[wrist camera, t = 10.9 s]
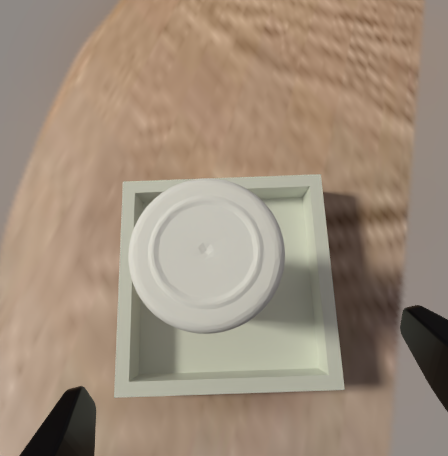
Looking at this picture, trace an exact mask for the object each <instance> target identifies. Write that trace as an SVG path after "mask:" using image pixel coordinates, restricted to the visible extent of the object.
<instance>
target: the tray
mask: <svg viewBox="0 0 448 456" xmlns="http://www.w3.org/2000/svg"><path fill="white" fill-rule="evenodd" d="M213 179H220V180H227V181H230V182H233V183H236V184H238V185H240V186H242V187H245V188H246V189H248V190H249V191H251V192H253V193H254V194H255V195H257V196H258V197H259V198H260V199H261V200H262V201H263V202H264V203H265V204H266V205H267V206H268V208H269V209H270V210H271V211H272V213H273V215H274V216H275V218H276V220H277V222H278V224H279V227H280V229H281V232H282V236H283V240H284V247H285V263H284V271H283V275H282V278H281V281H280V284H279V286H278V288H277V290H276V292H275V294H274V295H273V297H272V299H271V300H270V302H269V303H268V304H267V305H266V307H265V308H264V309H263V310H262V311H261V312H260V313H259V314H257V315H256V316H255V317H254V318H253V319H251V320H250V321H248V322H247V323H245V324H243V325H241V326H239V327H236V328H234V329H231V330H228V331H225V332H220V333H212V334H199V333H192V332H187V331H183V330H180V329H178V328H175V327H173V326H171V325H169V324H167V323H165V322H164V321H162V320H161V319H159V318H158V317H156V316H155V315H154V314H153V313H152V312H151V311H150V310H149V309H148V308H147V307H146V305H145V304H144V303H143V301H142V300H141V298H140V297H139V295H138V294H137V292H136V290H135V287H134V284H133V282H132V279H131V275H130V270H129V262H128V253H129V244H130V239H131V235H132V232H133V229H134V227H135V225H136V223H137V221H138V219H139V217H140V215H141V214H142V213H143V211H144V210H145V208H146V207H147V206H148V205H149V204H150V203H151V202H152V201H153V200H154V199H155V198H156V197H157V196H159V195H160V194H161V193H162V192H164V191H166V190H167V189H169V188H170V187H172V186H175V185H177V184H180V183H183V182H186V181H189V180H194V179H183V180H156V181H129V182H123V194H122V218H121V243H120V267H119V292H118V316H117V341H116V366H115V390H114V398H119V397H148V396H178V395H207V394H237V393H266V392H296V391H325V390H345V388H344V379H343V370H342V361H341V352H340V343H339V334H338V325H337V316H336V307H335V298H334V289H333V280H332V271H331V262H330V253H329V244H328V235H327V226H326V217H325V208H324V199H323V190H322V181H321V174H317V175H291V176H264V177H237V178H213Z"/></svg>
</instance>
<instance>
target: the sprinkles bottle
mask: <svg viewBox="0 0 448 456" xmlns="http://www.w3.org/2000/svg"><path fill="white" fill-rule="evenodd" d="M128 262H129V270H130V275H131V279H132V282H133V284H134V287H135V290H136V292H137V294H138V295H139V297H140V298H141V300H142V301H143V303H144V304H145V305H146V307H147V308H148V309H149V310H150V311H151V312H152V313H153V314H154V315H155V316H156V317H158V318H159V319H161V320H162V321H164V322H165V323H167V324H169V325H171V326H173V327H175V328H178V329H180V330H183V331H187V332H192V333H199V334H212V333H220V332H225V331H228V330H231V329H234V328H236V327H239V326H241V325H243V324H245V323H247V322H248V321H250V320H251V319H253V318H254V317H255V316H256V315H257V314H259V313H260V312H261V311H262V310H263V309H264V308H265V307H266V305H267V304H268V303H269V302H270V300H271V299H272V297H273V295H274V294H275V292H276V290H277V288H278V286H279V284H280V281H281V278H282V275H283V271H284V263H285V247H284V240H283V236H282V232H281V229H280V227H279V224H278V222H277V220H276V218H275V216H274V215H273V213H272V211H271V210H270V209H269V208H268V206H267V205H266V204H265V203H264V202H263V201H262V200H261V199H260V198H259V197H258V196H257V195H255V194H254V193H253V192H251V191H249V190H248V189H246V188H245V187H242V186H240V185H238V184H236V183H233V182H230V181H227V180H220V179H213V178H203V179H194V180H189V181H186V182H183V183H180V184H177V185H175V186H172V187H170V188H169V189H167V190H166V191H164V192H162V193H161V194H160V195H159V196H157V197H156V198H155V199H154V200H153V201H152V202H151V203H150V204H149V205H148V206H147V207H146V208H145V210H144V211H143V213H142V214H141V215H140V217H139V219H138V221H137V223H136V225H135V227H134V229H133V232H132V235H131V239H130V244H129V253H128Z"/></svg>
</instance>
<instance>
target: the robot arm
mask: <svg viewBox="0 0 448 456" xmlns="http://www.w3.org/2000/svg"><path fill="white" fill-rule="evenodd" d="M400 330H401V334H402V336H403V338H404V340H405V342H406V344H407V345H408V347H409V349H410V351H411V352H412V354H413V356H414V358H415V360H416V362H417V363H418V365H419V367H420V369H421V370H422V372H423V374H424V376H425V378H426V380H427V381H428V383H429V385H430V386H431V388H432V390H433V391H434V393H435V394H436V396H437V397H438V399H439V400H440V401H441V403H442V404H443V406H444V407H445V409H446V410H447V411H448V320H447V319H445V318H443V317H442V316H440V315H438V314H436V313H434V312H432V311H430V310H428V309H426V308H424V307H422V306H419V305H417V306H416V305H415V306H412V307H407V308H405V309H404V310H403V314H402V320H401V326H400ZM95 425H96V406H95V403H94V401H93V399H92V398H91V396H90V395H89V393H88V392H87V390H86V389H85V388H84V387H82V386H79V387H75V388H71V389H68V390H67V391H66V392H65V393H64V394H63V395H62V397H61V398H60V400H59V401H58V402H57V404H56V405H55V407H54V408H53V409H52V411H51V412H50V414H49V415H48V416H47V418H46V419H45V421H44V422H43V423H42V425H41V426H40V428H39V429H38V430H37V432H36V433H35V435H34V436H33V438H32V439H31V440H30V442H29V443H28V445H27V446H26V447H25V449H24V450H23V452H22V453H21V454H20V456H94V450H95Z"/></svg>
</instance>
